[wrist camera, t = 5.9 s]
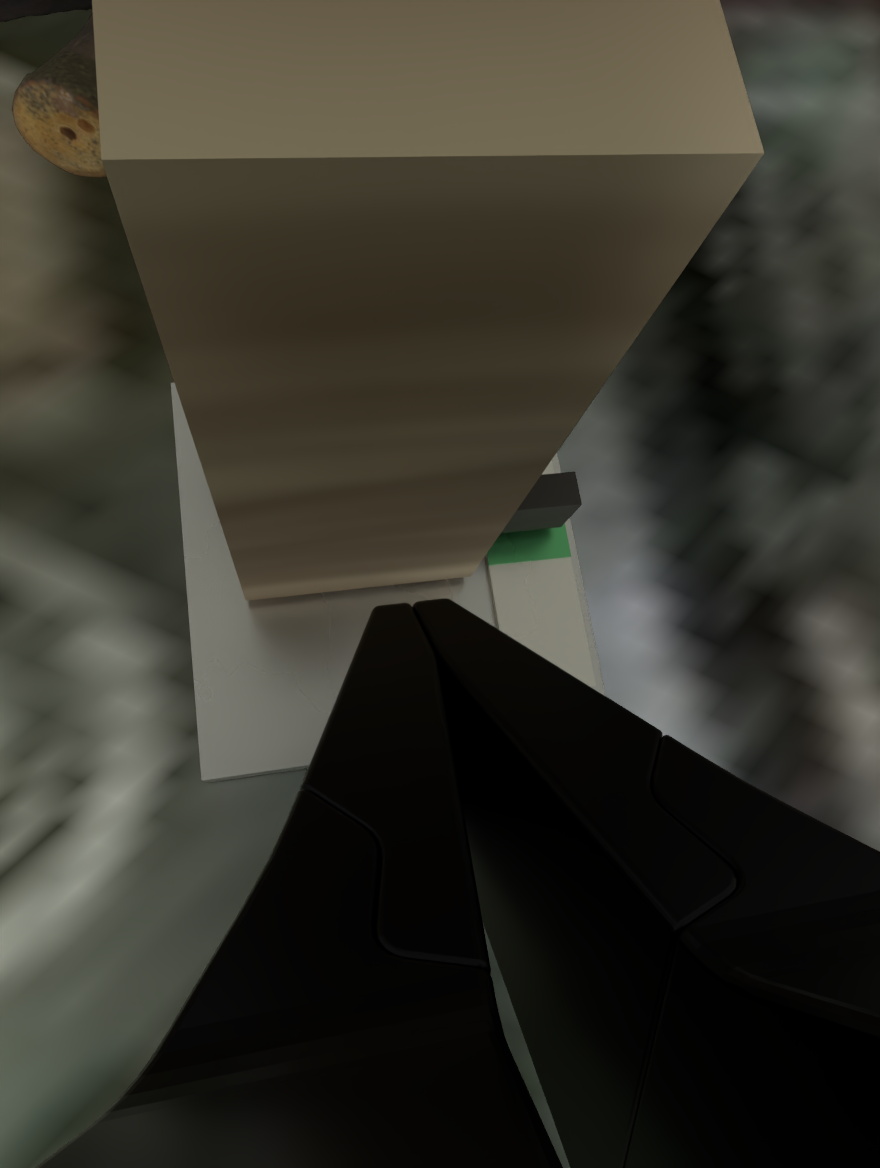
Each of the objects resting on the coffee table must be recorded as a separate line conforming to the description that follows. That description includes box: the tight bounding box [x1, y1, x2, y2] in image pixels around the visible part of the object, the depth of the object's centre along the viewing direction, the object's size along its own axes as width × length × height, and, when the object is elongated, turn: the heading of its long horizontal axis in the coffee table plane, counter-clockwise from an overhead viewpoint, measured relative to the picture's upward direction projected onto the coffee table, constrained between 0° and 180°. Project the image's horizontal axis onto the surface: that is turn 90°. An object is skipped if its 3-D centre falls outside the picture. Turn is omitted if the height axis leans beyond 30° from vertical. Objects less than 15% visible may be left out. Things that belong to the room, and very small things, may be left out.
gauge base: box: [171, 383, 605, 782], centre depth 12 cm, size 7×7×8 cm
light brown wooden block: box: [92, 0, 764, 601], centre depth 10 cm, size 2×6×10 cm, turn 99°
